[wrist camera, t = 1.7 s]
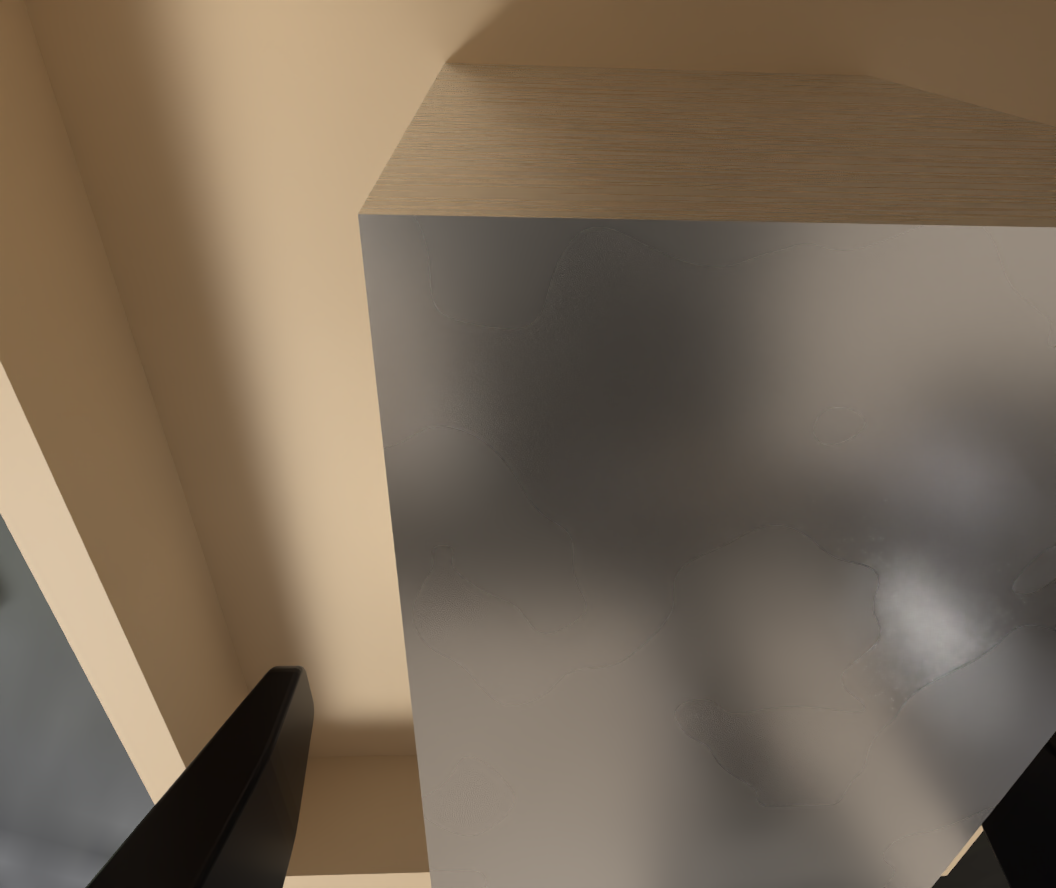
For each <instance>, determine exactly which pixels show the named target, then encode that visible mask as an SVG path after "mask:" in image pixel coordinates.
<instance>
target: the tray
mask: <svg viewBox="0 0 1056 888" xmlns="http://www.w3.org/2000/svg"><path fill="white" fill-rule="evenodd" d="M444 63H466V64H499V65H533V66H566V67H600V68H633V69H667V70H700V71H734V72H767V73H801V74H834V75H868V76H872V77H876V78H880V79H883V80H887V81H891V82H894V83H898V84H901V85H905V86H909V87H912V88H916V89H920V90H923V91H927V92H931V93H934V94H938V95H942V96H945V97H949V98H953V99H956V100H960V101H963V102H967V103H971V104H974V105H978V106H982V107H985V108H989V109H993V110H996V111H1000V112H1004V113H1007V114H1011V115H1014V116H1018V117H1022V118H1025V119H1029V120H1033V121H1036V122H1040V123H1044V124H1047V125H1051V126H1055V127H1056V0H0V513H1V515H2V517H3V519H4V521H5V523H6V525H7V527H8V529H9V530H10V532H11V534H12V536H13V538H14V540H15V542H16V544H17V546H18V547H19V549H20V551H21V553H22V555H23V557H24V559H25V561H26V562H27V564H28V566H29V568H30V570H31V572H32V574H33V576H34V578H35V579H36V581H37V583H38V585H39V587H40V589H41V591H42V593H43V595H44V596H45V598H46V600H47V602H48V604H49V606H50V608H51V610H52V612H53V613H54V615H55V617H56V619H57V621H58V623H59V625H60V627H61V629H62V630H63V632H64V634H65V636H66V638H67V640H68V642H69V644H70V646H71V647H72V649H73V651H74V653H75V655H76V657H77V659H78V661H79V663H80V664H81V666H82V668H83V670H84V672H85V674H86V676H87V678H88V680H89V681H90V683H91V685H92V687H93V689H94V691H95V693H96V695H97V697H98V698H99V700H100V702H101V704H102V706H103V708H104V710H105V712H106V714H107V715H108V717H109V719H110V721H111V723H112V725H113V727H114V729H115V731H116V732H117V734H118V736H119V738H120V740H121V742H122V744H123V746H124V747H125V749H126V751H127V753H128V755H129V757H130V759H131V761H132V763H133V764H134V766H135V768H136V770H137V772H138V774H139V776H140V778H141V780H142V781H143V783H144V785H145V787H146V789H147V791H148V793H149V795H150V797H151V798H152V800H153V802H154V804H155V805H156V803H157V802H158V801H159V800H160V799H161V797H162V796H163V795H164V794H165V793H166V792H167V790H168V789H169V788H170V787H171V786H172V784H173V783H174V782H175V781H176V780H177V778H178V777H179V776H180V775H181V774H182V773H183V771H184V770H185V769H186V768H187V767H188V765H189V764H190V763H191V762H192V761H193V759H194V758H195V757H196V756H197V755H198V754H199V752H200V751H201V750H202V749H203V748H204V746H205V745H206V744H207V743H208V742H209V740H210V739H211V738H212V737H213V736H214V735H215V733H216V732H217V731H218V730H219V729H220V727H221V726H222V725H223V724H224V723H225V721H226V720H227V719H228V718H229V717H230V716H231V714H232V713H233V712H234V711H235V710H236V708H237V707H238V706H239V705H240V704H241V702H242V701H243V700H244V699H245V698H246V697H247V695H248V694H249V693H250V692H251V691H252V689H253V688H254V687H255V686H256V685H257V683H258V682H259V681H260V680H261V679H262V678H263V676H264V675H265V674H266V673H267V672H268V671H269V670H270V669H271V668H273V667H275V666H295V665H299V666H302V667H304V669H305V670H306V673H307V677H308V681H309V685H310V689H311V693H312V697H313V702H314V720H313V727H312V734H311V740H310V747H309V754H308V760H307V767H306V774H305V780H304V787H303V794H302V800H301V807H300V813H299V819H298V825H297V831H296V837H295V841H294V845H293V850H292V854H291V858H290V862H289V866H288V869H287V873H286V877H285V881H284V885H283V888H431V879H430V870H429V861H428V852H427V843H426V834H425V824H424V815H423V806H422V797H421V788H420V779H419V769H418V760H417V751H416V742H415V733H414V724H413V714H412V705H411V696H410V687H409V678H408V669H407V659H406V650H405V641H404V632H403V623H402V614H401V604H400V595H399V586H398V577H397V568H396V559H395V550H394V540H393V531H392V522H391V513H390V504H389V495H388V485H387V476H386V467H385V458H384V449H383V440H382V430H381V421H380V412H379V403H378V394H377V385H376V375H375V366H374V357H373V348H372V339H371V330H370V321H369V311H368V302H367V293H366V284H365V275H364V266H363V256H362V247H361V238H360V229H359V220H358V213H359V211H360V210H361V208H362V206H363V204H364V203H365V201H366V199H367V197H368V196H369V194H370V192H371V190H372V189H373V187H374V185H375V183H376V182H377V180H378V178H379V176H380V175H381V173H382V171H383V170H384V168H385V166H386V164H387V163H388V161H389V159H390V157H391V156H392V154H393V152H394V150H395V149H396V147H397V145H398V143H399V142H400V140H401V138H402V136H403V135H404V133H405V131H406V129H407V128H408V126H409V124H410V123H411V121H412V119H413V117H414V116H415V114H416V112H417V110H418V109H419V107H420V105H421V103H422V102H423V100H424V98H425V96H426V95H427V93H428V91H429V89H430V88H431V86H432V84H433V82H434V81H435V79H436V77H437V76H438V74H439V72H440V70H441V69H442V67H443V65H444ZM982 832H983V828H982V825H981V826H980V827H979V828H978V830H977V831H976V832H975V833H974V835H973V836H972V837H971V838H970V840H969V841H968V842H967V843H966V845H965V846H964V847H963V848H962V850H961V851H960V852H959V854H958V855H957V856H956V857H955V859H954V860H953V861H952V862H951V864H950V865H949V866H948V867H947V869H946V870H945V871H944V872H943V874H942V875H941V876H947V875H948V874H949V873H950V871H951V870H952V869H953V868H954V866H955V865H956V864H957V863H958V861H959V860H960V859H961V858H962V856H963V855H964V854H965V853H966V851H967V850H968V849H969V848H970V846H971V845H972V844H973V843H974V841H975V840H976V839H977V838H978V836H979V835H980V834H981V833H982Z"/></svg>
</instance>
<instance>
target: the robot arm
mask: <svg viewBox="0 0 1056 888" xmlns="http://www.w3.org/2000/svg"><path fill="white" fill-rule="evenodd" d="M313 720H314V702H313V697H312V693H311V689H310V685H309V681H308V677H307V673H306V670H305V669H304V667H302V666H299V665H295V666H275V667H273V668H271V669H270V670H269V671H268V672H267V673H266V674H265V675H264V676H263V678H262V679H261V680H260V681H259V682H258V683H257V685H256V686H255V687H254V688H253V689H252V691H251V692H250V693H249V694H248V695H247V697H246V698H245V699H244V700H243V701H242V702H241V704H240V705H239V706H238V707H237V708H236V710H235V711H234V712H233V713H232V714H231V716H230V717H229V718H228V719H227V720H226V721H225V723H224V724H223V725H222V726H221V727H220V729H219V730H218V731H217V732H216V733H215V735H214V736H213V737H212V738H211V739H210V740H209V742H208V743H207V744H206V745H205V746H204V748H203V749H202V750H201V751H200V752H199V754H198V755H197V756H196V757H195V758H194V759H193V761H192V762H191V763H190V764H189V765H188V767H187V768H186V769H185V770H184V771H183V773H182V774H181V775H180V776H179V777H178V778H177V780H176V781H175V782H174V783H173V784H172V786H171V787H170V788H169V789H168V790H167V792H166V793H165V794H164V795H163V796H162V797H161V799H160V800H159V801H158V802H157V803H156V805H155V806H154V807H153V808H152V809H151V811H150V812H149V813H148V814H147V815H146V816H145V818H144V819H143V820H142V821H141V822H140V824H139V825H138V826H137V827H136V828H135V830H134V831H133V832H132V833H131V834H130V835H129V837H128V838H127V839H126V840H125V841H124V843H123V844H122V845H121V846H120V847H119V849H118V850H117V851H116V852H115V853H114V854H113V856H112V857H111V858H110V859H109V860H108V862H107V863H106V864H105V865H104V866H103V868H102V869H101V870H100V871H99V872H98V873H97V875H96V876H95V877H94V878H93V879H92V881H91V882H90V883H89V884H88V885H87V887H86V888H283V885H284V881H285V877H286V873H287V869H288V866H289V862H290V858H291V854H292V850H293V845H294V841H295V837H296V831H297V825H298V819H299V813H300V807H301V800H302V794H303V787H304V780H305V774H306V767H307V760H308V754H309V747H310V740H311V734H312V727H313ZM982 828H983V830H984V832H985V834H986V837H987V839H988V841H989V843H990V845H991V847H992V849H993V852H994V854H995V856H996V858H997V860H998V862H999V864H1000V866H1001V869H1002V871H1003V873H1004V875H1005V877H1006V879H1007V881H1008V883H1009V885H1010V888H1056V731H1055V733H1054V734H1053V735H1052V736H1051V738H1050V739H1049V740H1048V742H1047V743H1046V744H1045V745H1044V747H1043V748H1042V749H1041V750H1040V752H1039V753H1038V754H1037V755H1036V757H1035V758H1034V759H1033V760H1032V762H1031V763H1030V764H1029V765H1028V767H1027V768H1026V769H1025V770H1024V772H1023V773H1022V774H1021V775H1020V777H1019V778H1018V779H1017V781H1016V782H1015V783H1014V784H1013V786H1012V787H1011V788H1010V789H1009V791H1008V792H1007V793H1006V794H1005V796H1004V797H1003V798H1002V799H1001V801H1000V802H999V803H998V804H997V806H996V807H995V808H994V809H993V811H992V812H991V813H990V815H989V816H988V817H987V818H986V820H985V821H984V822H983V823H982Z"/></svg>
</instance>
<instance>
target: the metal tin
mask: <svg viewBox="0 0 1056 888" xmlns="http://www.w3.org/2000/svg"><path fill="white" fill-rule="evenodd" d="M358 220H359V229H360V238H361V247H362V256H363V266H364V275H365V284H366V293H367V302H368V311H369V321H370V330H371V339H372V348H373V357H374V366H375V375H376V385H377V394H378V403H379V412H380V421H381V430H382V440H383V449H384V458H385V467H386V476H387V485H388V495H389V504H390V513H391V522H392V531H393V540H394V550H395V559H396V568H397V577H398V586H399V595H400V604H401V614H402V623H403V632H404V641H405V650H406V659H407V669H408V678H409V687H410V696H411V705H412V714H413V724H414V733H415V742H416V751H417V760H418V769H419V779H420V788H421V797H422V806H423V815H424V824H425V834H426V843H427V852H428V861H429V870H430V879H431V888H932V886H933V885H934V884H935V882H936V881H937V880H938V879H939V877H940V876H941V875H942V874H943V872H944V871H945V870H946V869H947V867H948V866H949V865H950V864H951V862H952V861H953V860H954V859H955V857H956V856H957V855H958V854H959V852H960V851H961V850H962V848H963V847H964V846H965V845H966V843H967V842H968V841H969V840H970V838H971V837H972V836H973V835H974V833H975V832H976V831H977V830H978V828H979V827H980V826H981V825H982V823H983V822H984V821H985V820H986V818H987V817H988V816H989V815H990V813H991V812H992V811H993V809H994V808H995V807H996V806H997V804H998V803H999V802H1000V801H1001V799H1002V798H1003V797H1004V796H1005V794H1006V793H1007V792H1008V791H1009V789H1010V788H1011V787H1012V786H1013V784H1014V783H1015V782H1016V781H1017V779H1018V778H1019V777H1020V775H1021V774H1022V773H1023V772H1024V770H1025V769H1026V768H1027V767H1028V765H1029V764H1030V763H1031V762H1032V760H1033V759H1034V758H1035V757H1036V755H1037V754H1038V753H1039V752H1040V750H1041V749H1042V748H1043V747H1044V745H1045V744H1046V743H1047V742H1048V740H1049V739H1050V738H1051V736H1052V735H1053V734H1054V733H1055V731H1056V127H1055V126H1051V125H1047V124H1044V123H1040V122H1036V121H1033V120H1029V119H1025V118H1022V117H1018V116H1014V115H1011V114H1007V113H1004V112H1000V111H996V110H993V109H989V108H985V107H982V106H978V105H974V104H971V103H967V102H963V101H960V100H956V99H953V98H949V97H945V96H942V95H938V94H934V93H931V92H927V91H923V90H920V89H916V88H912V87H909V86H905V85H901V84H898V83H894V82H891V81H887V80H883V79H880V78H876V77H872V76H868V75H834V74H801V73H767V72H734V71H700V70H667V69H633V68H600V67H566V66H533V65H499V64H466V63H444V65H443V67H442V69H441V70H440V72H439V74H438V76H437V77H436V79H435V81H434V82H433V84H432V86H431V88H430V89H429V91H428V93H427V95H426V96H425V98H424V100H423V102H422V103H421V105H420V107H419V109H418V110H417V112H416V114H415V116H414V117H413V119H412V121H411V123H410V124H409V126H408V128H407V129H406V131H405V133H404V135H403V136H402V138H401V140H400V142H399V143H398V145H397V147H396V149H395V150H394V152H393V154H392V156H391V157H390V159H389V161H388V163H387V164H386V166H385V168H384V170H383V171H382V173H381V175H380V176H379V178H378V180H377V182H376V183H375V185H374V187H373V189H372V190H371V192H370V194H369V196H368V197H367V199H366V201H365V203H364V204H363V206H362V208H361V210H360V211H359V213H358Z"/></svg>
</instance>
